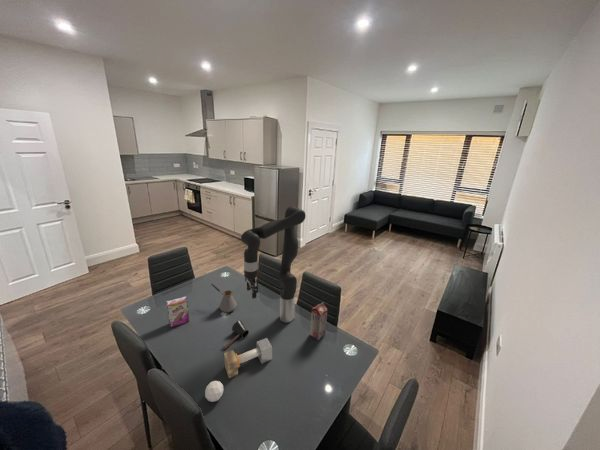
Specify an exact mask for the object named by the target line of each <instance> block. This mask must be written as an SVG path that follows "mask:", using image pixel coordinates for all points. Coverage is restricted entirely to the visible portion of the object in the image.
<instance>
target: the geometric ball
mask: <svg viewBox="0 0 600 450" xmlns="http://www.w3.org/2000/svg"><path fill="white" fill-rule="evenodd" d="M204 393H205V394H204V395H205V396H204V397H205V399H206V400H207V401H208V402H211V403H213V402H217V401H219V400H220V399H221V397H222V395H223V393H224V385H223V383H221V381H220V380H213V381H210V382H209V384H208V385H207V386H206V388H205V391H204Z"/></svg>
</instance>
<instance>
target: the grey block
mask: <svg viewBox="0 0 600 450" xmlns="http://www.w3.org/2000/svg"><path fill="white" fill-rule="evenodd" d="M258 347H259V349H260V351H261V355H260V356H258V359H259V361H260V364H261V365H262V364H264V363H267V362H269V361H272V360H273V346H272V343H271V342H270V341H269V339H268V337H265V338H262V339H259V340H258V341H256V348H258Z"/></svg>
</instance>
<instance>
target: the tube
mask: <svg viewBox="0 0 600 450" xmlns="http://www.w3.org/2000/svg"><path fill="white" fill-rule="evenodd" d="M234 353H235V356H236V358H237V361H238V369H239V368H240V367H241V365H240V364H242V363H245V362H248V361H249V360H250V361H251V360H252V359H255V358H257V357H258V356H260V355H261V351H260V349H259V347H258V348H257V347H256V348H253V349H251V350H248V351H245V352H244V353H241V354H237V352H234Z"/></svg>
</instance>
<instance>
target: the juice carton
mask: <svg viewBox="0 0 600 450" xmlns="http://www.w3.org/2000/svg"><path fill="white" fill-rule="evenodd" d="M310 316H311V317H310V327H309V329H310V331H309V335H310V336H311V337H313V338H314V339H316V340H317V341H319V340H320V339H322V338H323V337H324V336H326V329H327V318H328V308H327V306H326V305H325V304H324V301H323V302H321V303H318V304H317V305H315V306H314V307H312V308H311V315H310Z"/></svg>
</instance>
